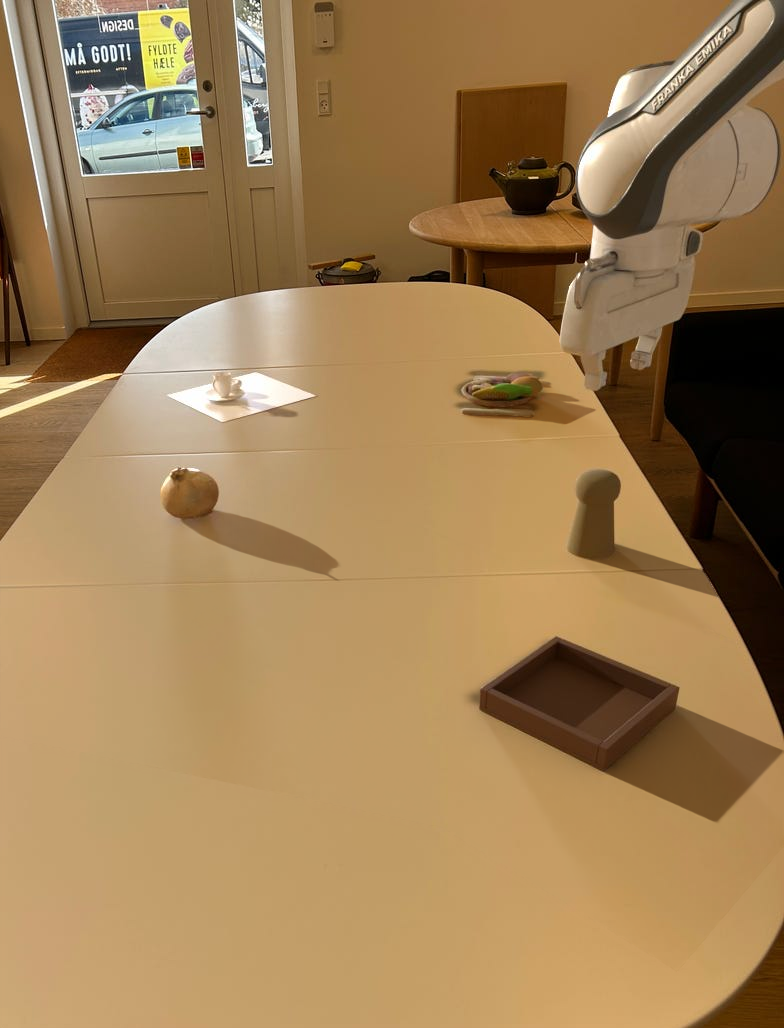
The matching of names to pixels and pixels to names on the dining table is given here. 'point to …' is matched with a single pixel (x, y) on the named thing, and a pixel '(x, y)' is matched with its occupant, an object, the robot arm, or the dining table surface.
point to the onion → (189, 493)
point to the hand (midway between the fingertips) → (617, 378)
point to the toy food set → (501, 393)
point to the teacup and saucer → (239, 395)
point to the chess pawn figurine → (594, 514)
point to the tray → (579, 701)
